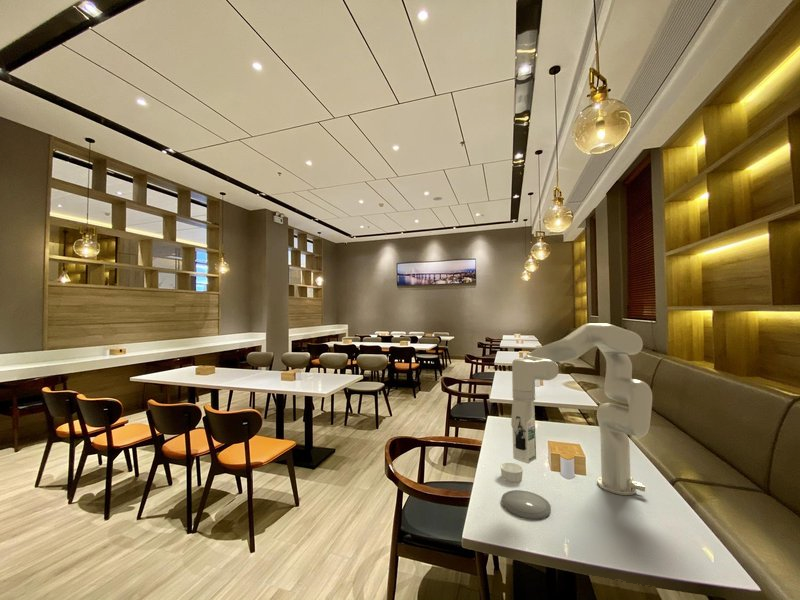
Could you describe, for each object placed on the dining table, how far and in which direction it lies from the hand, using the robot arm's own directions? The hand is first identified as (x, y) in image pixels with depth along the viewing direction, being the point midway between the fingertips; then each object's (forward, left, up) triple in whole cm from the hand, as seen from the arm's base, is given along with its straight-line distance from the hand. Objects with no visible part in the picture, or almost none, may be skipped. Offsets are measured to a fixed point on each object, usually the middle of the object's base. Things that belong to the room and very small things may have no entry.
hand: (524, 445), depth 116 cm
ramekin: (+12, -16, -21) cm, 29 cm away
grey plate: (0, 0, -20) cm, 20 cm away
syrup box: (0, 0, -5) cm, 5 cm away
